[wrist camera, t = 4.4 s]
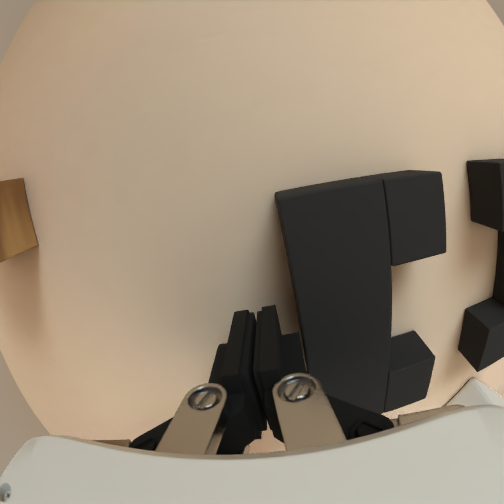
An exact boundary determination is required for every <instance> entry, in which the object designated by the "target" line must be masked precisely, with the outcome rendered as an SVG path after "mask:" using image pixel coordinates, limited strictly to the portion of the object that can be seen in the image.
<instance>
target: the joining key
mask: <svg viewBox="0 0 504 504" xmlns="http://www.w3.org/2000/svg"><path fill="white" fill-rule="evenodd" d="M37 245H38V242H37V239H36V235H35V232H34V228H33V224H32V220H31V216H30V212H29V207H28V202H27V198H26V192H25V187H24V181H23V178H19V179H12V180H5V181H0V262H2V261H5V260H7V259H9V258H11V257H13V256H15V255H17V254H19V253H22V252H24V251H26V250H28V249H31V248H33V247H35V246H37Z"/></svg>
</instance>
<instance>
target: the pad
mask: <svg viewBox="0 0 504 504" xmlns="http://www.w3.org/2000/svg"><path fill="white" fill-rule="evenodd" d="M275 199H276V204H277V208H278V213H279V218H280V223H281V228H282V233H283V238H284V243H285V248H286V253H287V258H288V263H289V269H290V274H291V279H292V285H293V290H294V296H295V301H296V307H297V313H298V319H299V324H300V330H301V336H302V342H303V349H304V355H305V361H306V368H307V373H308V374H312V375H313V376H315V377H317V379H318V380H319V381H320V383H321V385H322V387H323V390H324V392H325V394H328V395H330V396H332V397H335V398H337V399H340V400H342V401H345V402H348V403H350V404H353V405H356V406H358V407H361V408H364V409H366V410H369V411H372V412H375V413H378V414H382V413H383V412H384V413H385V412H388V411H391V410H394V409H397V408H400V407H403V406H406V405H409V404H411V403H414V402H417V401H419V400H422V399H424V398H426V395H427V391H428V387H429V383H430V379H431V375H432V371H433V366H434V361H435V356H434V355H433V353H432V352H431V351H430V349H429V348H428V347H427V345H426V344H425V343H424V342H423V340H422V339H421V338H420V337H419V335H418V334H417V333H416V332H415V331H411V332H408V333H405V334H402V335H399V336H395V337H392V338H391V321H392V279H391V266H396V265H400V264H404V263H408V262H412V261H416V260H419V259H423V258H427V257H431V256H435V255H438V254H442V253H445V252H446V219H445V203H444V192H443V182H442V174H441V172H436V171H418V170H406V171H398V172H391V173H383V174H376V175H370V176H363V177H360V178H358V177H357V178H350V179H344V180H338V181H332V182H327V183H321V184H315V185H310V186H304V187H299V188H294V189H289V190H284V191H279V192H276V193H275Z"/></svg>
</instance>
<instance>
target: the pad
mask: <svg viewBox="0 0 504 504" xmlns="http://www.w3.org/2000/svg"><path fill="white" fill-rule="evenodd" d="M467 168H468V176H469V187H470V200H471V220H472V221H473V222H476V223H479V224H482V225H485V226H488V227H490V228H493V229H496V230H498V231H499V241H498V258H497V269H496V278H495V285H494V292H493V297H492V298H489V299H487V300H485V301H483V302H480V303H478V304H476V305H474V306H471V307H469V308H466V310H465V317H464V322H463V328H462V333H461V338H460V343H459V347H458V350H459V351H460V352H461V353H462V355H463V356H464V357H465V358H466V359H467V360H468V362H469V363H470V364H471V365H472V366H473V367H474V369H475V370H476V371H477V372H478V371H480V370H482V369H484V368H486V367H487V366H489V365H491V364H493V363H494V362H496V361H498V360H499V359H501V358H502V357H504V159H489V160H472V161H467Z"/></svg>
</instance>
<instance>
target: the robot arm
mask: <svg viewBox="0 0 504 504" xmlns="http://www.w3.org/2000/svg"><path fill="white" fill-rule="evenodd" d="M267 421H268V424H269V427H270V430H272V432H273V435H274V437H275V438H276V439H278V440H280V441H281V442H283V443H284V444H285V448H286V451H281V452H271V453H258V454H249V452H250V446H249V444H250V443H251V442H252V441H254V440H255V439H261V435H262V431H264V430H267ZM0 504H504V407H502V406H498V405H490V404H485V405H474V406H467V407H465V406H463V405H459V404H456V405H449V406H445V407H440V408H436V409H431V410H426V411H421V412H415V413H409V414H403V415H398V418H397V419H389V418H387V417H385V416H383V415H381V414H378V413H375V412H372V411H369V410H366V409H364V408H361V407H358V406H356V405H353V404H350V403H348V402H345V401H342V400H340V399H337V398H335V397H332V396H330V395H328V394H325V392H324V390H323V387H322V385H321V383H320V381H319V380H318V379H317V377H315V376H313V375H312V374H308V373H306V370H305V364H304V358H303V353H302V347H301V341H300V336H299V332H297V333H292V334H286V335H282V334H281V329H280V324H279V319H278V314H277V310H276V306H275V305H272V306H266V307H262V311H258V312H257V322H256V318H255V314H254V312H252V313H249V310H242V311H236V312H234V316H233V320H232V325H231V329H230V334H229V338H228V342H227V343H226V344H220V345H219V346H218V349H217V353H216V356H215V360H214V364H213V368H212V371H211V375H210V379H209V382H208V383H207V384H202V385H199V386H197V387H194V388H193V389H191V390H190V391H189V392H188V393H187V394H186V396H185V397H184V399H183V401H182V403H181V404H180V406H179V408H178V410H177V412H176V413H175V415H174V417H173V418H171V419H169V420H167V421H166V422H164V423H162V424H161V425H159V426H157V427H155V428H153V429H152V430H150V431H148V432H146V433H144V434H142V435H141V436H139V437H137V438H136V439H134V440H133V442H131V441H130V439H127V440H86V439H81V438H76V437H70V436H61V435H47V436H38V437H35V438H32V439H30V440H28V441H27V442H26V443H25V444H24V445H23V446H22V447H21V449H20V450H19V451H18V452H17V453H16V455H15V456H14V457H13V459H12V460H11V462H10V463H9V465H8V466H7V468H6V469H5V471H4V473H3V474H2V476H1V478H0Z"/></svg>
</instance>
